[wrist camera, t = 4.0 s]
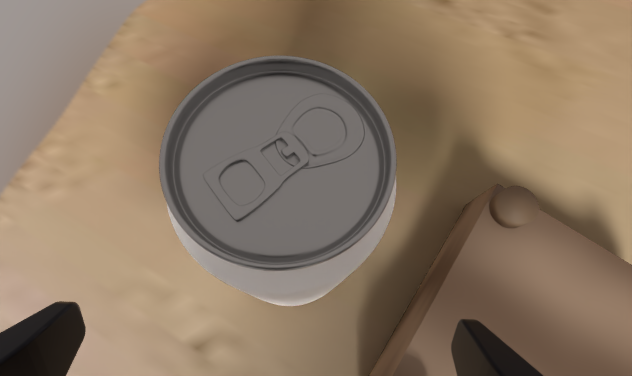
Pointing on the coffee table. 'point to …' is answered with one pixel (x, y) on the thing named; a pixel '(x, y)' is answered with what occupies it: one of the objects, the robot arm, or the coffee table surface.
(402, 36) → the coffee table surface
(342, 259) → the can
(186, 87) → the coffee table surface
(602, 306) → the base brick
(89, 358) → the coffee table surface
